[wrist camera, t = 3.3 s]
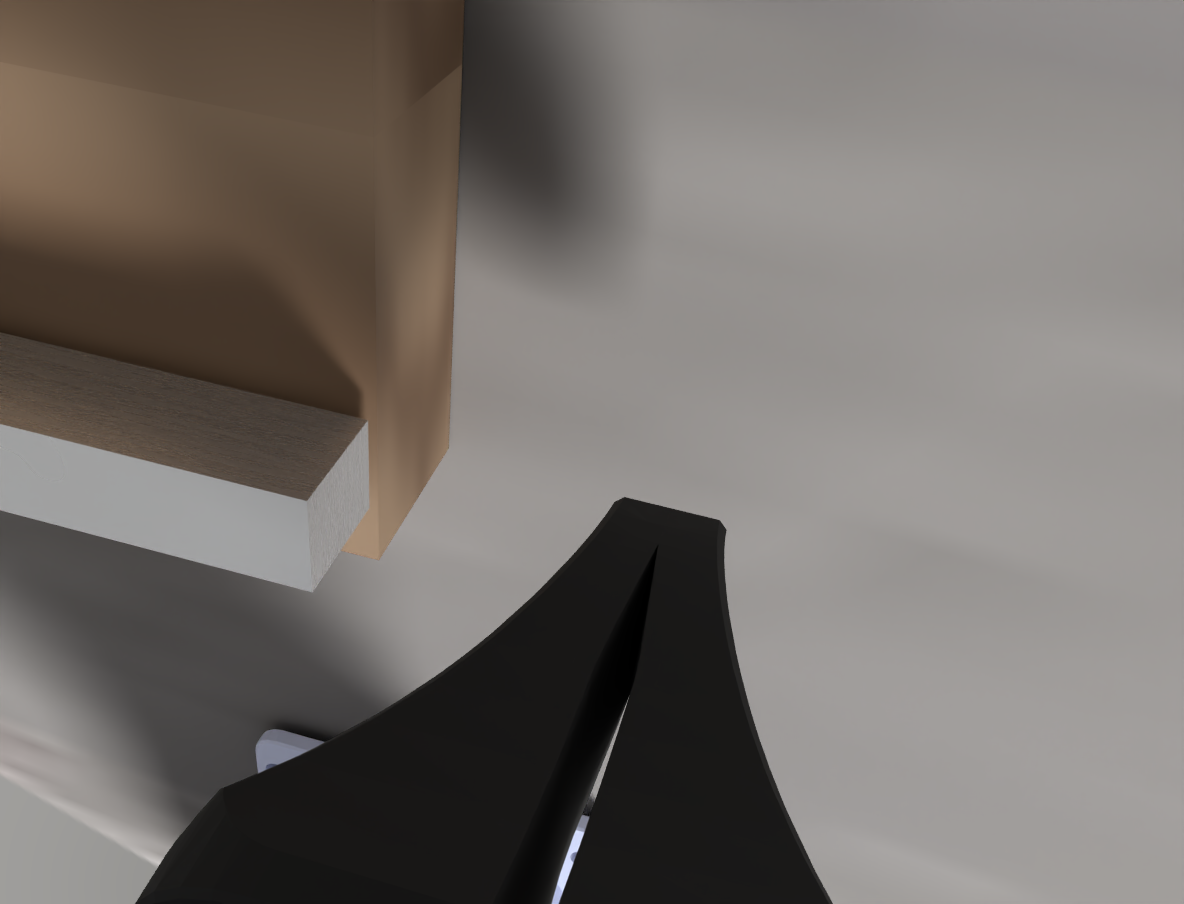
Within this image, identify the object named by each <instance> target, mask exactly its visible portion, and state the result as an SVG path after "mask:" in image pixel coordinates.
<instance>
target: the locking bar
mask: <svg viewBox="0 0 1184 904" xmlns="http://www.w3.org/2000/svg"><path fill="white" fill-rule="evenodd" d="M369 508H370V505H369V449H368V420H365V419H361V418H357V417H353V416H349V415H344V414H340V413H336V412H332V411H328V410H324V409H319V408H315V407H311V406H307V405H303V404H298V403H294V402H290V401H286V400H282V399H277V398H273V397H269V396H265V395H261V394H256V393H252V392H248V391H244V390H240V389H236V388H231V387H227V386H223V385H219V384H215V383H210V382H206V381H202V380H198V379H194V378H189V377H185V376H181V375H177V374H173V373H168V372H164V371H160V370H156V369H152V368H148V367H143V366H139V365H135V364H131V363H127V362H122V361H118V360H114V359H110V358H106V357H101V356H97V355H93V354H89V353H85V352H80V351H76V350H72V349H68V348H64V347H60V346H55V345H51V344H47V343H43V342H39V341H34V340H30V339H26V338H22V337H18V336H13V335H9V334H5V333H1V332H0V510H1V511H5V512H9V513H12V514H16V515H20V516H24V517H28V518H31V519H35V520H39V521H43V522H47V523H50V524H54V525H58V526H62V527H66V528H69V529H73V530H77V531H81V532H85V533H88V534H92V535H96V536H100V537H104V538H107V539H111V540H115V541H119V542H123V543H126V544H130V545H134V546H138V547H142V548H145V549H149V550H153V551H157V552H161V553H164V554H168V555H172V556H176V557H180V558H183V559H187V560H191V561H195V562H199V563H202V564H206V565H210V566H214V567H218V568H221V569H225V570H229V571H233V572H237V573H240V574H244V575H248V576H252V577H256V578H259V579H263V580H267V581H271V582H275V583H279V584H282V585H286V586H290V587H294V588H298V589H301V590H305V591H309V592H313V591H314V589H315V588H316V586H317V585H318V584H319V582H320V581H321V579H322V578H323V576H324V575H325V573H326V572H327V570H328V569H329V567H330V566H331V564H332V563H333V561H334V560H335V558H336V557H337V555H338V554H339V552H340V551H341V549H342V548H343V546H344V545H345V543H346V542H347V540H348V539H349V537H350V536H351V534H352V533H353V532H354V530H355V529H356V527H357V526H358V524H359V523H360V521H361V520H362V518H363V517H364V515H365V514H366V512H367V511H368V509H369Z"/></svg>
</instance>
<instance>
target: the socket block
mask: <svg viewBox="0 0 1184 904" xmlns="http://www.w3.org/2000/svg"><path fill="white" fill-rule="evenodd" d="M464 3H465V0H0V332H1V333H5V334H9V335H13V336H18V337H22V338H26V339H30V340H34V341H39V342H43V343H47V344H51V345H55V346H60V347H64V348H68V349H72V350H76V351H80V352H85V353H89V354H93V355H97V356H101V357H106V358H110V359H114V360H118V361H122V362H127V363H131V364H135V365H139V366H143V367H148V368H152V369H156V370H160V371H164V372H168V373H173V374H177V375H181V376H185V377H189V378H194V379H198V380H202V381H206V382H210V383H215V384H219V385H223V386H227V387H231V388H236V389H240V390H244V391H248V392H252V393H256V394H261V395H265V396H269V397H273V398H277V399H282V400H286V401H290V402H294V403H298V404H303V405H307V406H311V407H315V408H319V409H324V410H328V411H332V412H336V413H340V414H344V415H349V416H353V417H357V418H361V419H365V420H368V449H369V505H370V508H369V509H368V511H367V512H366V514H365V515H364V517H363V518H362V520H361V521H360V523H359V524H358V526H357V527H356V529H355V530H354V532H353V533H352V534H351V536H350V537H349V539H348V540H347V542H346V543H345V545H344V546H343V548H342V549H341V551H345V552H348V553H352V554H356V555H360V556H364V557H368V558H372V559H376V560H379V559H380V558H381V556H382V554H383V553H384V551H385V550H386V548H387V546H388V545H389V543H390V542H391V540H392V538H393V537H394V535H395V534H396V532H397V530H398V529H399V527H400V526H401V524H402V522H403V521H404V519H405V517H406V516H407V514H408V513H409V511H410V509H411V508H412V506H413V505H414V503H415V501H416V500H417V498H418V497H419V495H420V493H421V492H422V490H423V489H424V487H425V485H426V484H427V482H428V481H429V479H430V477H431V476H432V474H433V473H434V471H435V469H436V468H437V466H438V464H439V463H440V461H441V460H442V458H443V456H444V455H445V453H446V452H447V450H448V448H449V424H450V396H451V367H452V339H453V311H454V283H455V255H456V227H457V199H458V171H459V143H460V115H461V87H462V59H463V31H464Z"/></svg>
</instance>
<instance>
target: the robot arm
mask: <svg viewBox="0 0 1184 904" xmlns="http://www.w3.org/2000/svg"><path fill="white" fill-rule="evenodd" d="M725 535H726V528H725V527H724V526H723V524H722V523H721V521H720V520H716V519H712V518H708V517H704V516H700V515H696V514H692V513H688V512H683V511H679V510H675V509H671V508H667V507H663V506H659V505H655V504H651V503H646V502H642V501H638V500H634V499H630V498H626V497H624V498H622V499H620V500H618V501H616V502H614V504H613V505H612V507H611V508H610V510H609V511H608V513H607V514H606V515H605V517H604V518H603V519H602V521H601V522H600V523H599V525H598V526H597V527H596V529H595V530H594V531H593V532H592V534H591V535H590V536H589V537H588V538H587V540H586V541H585V542H584V543H583V544H582V545H581V546H580V548H579V549H578V550H577V551H576V552H575V553H574V554H573V555H572V557H571V558H570V559H569V560H568V561H567V562H566V563H565V564H564V565H563V566H562V567H561V568H560V569H559V570H558V571H557V572H556V573H555V574H554V575H553V576H552V577H551V579H550V580H549V581H548V582H547V583H546V584H545V585H544V586H543V587H542V588H541V589H540V590H539V591H538V592H537V593H536V594H535V595H534V596H533V597H532V598H531V599H529V600H528V601H527V602H526V603H525V604H524V605H523V606H522V607H521V608H519V609H518V610H517V611H516V612H515V613H514V614H513V615H512V616H510V617H509V618H508V619H507V620H506V621H505V622H504V623H503V624H502V625H500V626H499V627H498V628H497V629H496V630H495V631H494V632H493V633H491V634H490V635H489V636H488V637H486V638H485V639H484V640H483V641H482V642H480V643H479V644H478V645H477V646H475V647H474V648H473V649H472V650H470V651H469V652H468V653H466V654H465V655H464V656H463V657H461V658H460V659H459V660H457V661H456V662H454V663H453V664H452V665H450V666H449V667H448V668H446V669H445V670H444V671H442V672H441V673H439V674H438V675H437V676H435V677H434V678H432V679H431V680H429V681H428V682H426V683H425V684H423V685H422V686H420V687H419V688H417V689H416V690H414V691H413V692H411V693H410V694H408V695H407V696H405V697H404V698H402V699H401V700H399V701H397V702H396V703H394V704H393V705H391V706H389V707H388V708H386V709H384V710H383V711H381V712H379V713H378V714H376V715H374V716H373V717H371V718H369V719H367V720H365V721H363V722H362V723H360V724H358V725H356V726H354V727H352V728H350V729H348V730H347V731H345V732H343V733H341V734H339V735H337V736H335V737H334V738H332V739H330V740H328V741H326V742H323V741H319V740H316V739H312V738H309V737H305V736H302V735H298V734H294V733H291V732H287V731H284V730H278V729H272V730H267V731H266V732H265V733H263V735H262V736H261V738H260V739H259V741H258V743H257V744H256V749H255V751H256V760H257V769H258V773H257V774H255V775H253V776H251V777H248V778H246V779H244V780H241V781H239V782H237V783H234V784H232V785H229V786H227V787H224V788H222V789H220V790H219V791H218V792H217V793H216V795H215V796H214V797H213V798H212V799H211V800H210V801H209V802H208V803H207V805H206V806H205V807H204V808H203V809H202V810H201V811H200V813H199V814H198V815H197V816H196V817H195V818H194V820H193V821H192V822H191V824H190V825H189V826H188V827H187V828H186V830H185V831H184V832H183V833H182V834H181V835H180V836H179V838H178V839H177V840H176V841H175V843H174V844H173V846H172V847H171V848H170V850H169V851H168V853H167V854H166V856H165V857H164V859H163V860H162V862H161V863H160V865H159V867H158V868H157V870H156V871H155V873H154V875H153V876H152V878H151V879H150V881H149V883H148V884H147V886H146V887H145V889H144V890H143V892H142V894H141V896H140V897H139V899H138V900H137V902H136V903H135V904H833V903H832V901H831V900H830V898H829V896H828V894H827V892H826V890H825V888H824V887H823V885H822V883H821V881H820V879H819V877H818V875H817V874H816V872H815V870H814V868H813V866H812V863H811V861H810V859H809V857H808V855H807V853H806V851H805V849H804V846H803V844H802V842H801V840H800V838H799V836H798V834H797V831H796V829H795V827H794V825H793V823H792V821H791V819H790V817H789V814H788V812H787V810H786V808H785V806H784V803H783V801H782V798H781V796H780V793H779V791H778V788H777V786H776V783H775V781H774V778H773V776H772V773H771V770H770V768H769V765H768V762H767V759H766V757H765V754H764V751H763V748H762V745H761V742H760V739H759V736H758V733H757V730H756V727H755V724H754V721H753V717H752V714H751V710H750V707H749V703H748V700H747V696H746V692H745V688H744V684H743V681H742V677H741V673H740V668H739V664H738V659H737V655H736V650H735V644H734V639H733V633H732V628H731V622H730V617H729V610H728V603H727V594H726V583H725V569H724V546H725ZM629 695H630V696H629ZM628 698H629V699H628ZM627 700H628V702H627ZM626 703H627V706H626V709H625V712H624V715H623V718H622V721H621V724H620V727H619V731H618V734H617V737H616V740H615V743H614V746H613V749H612V752H611V755H610V758H609V761H608V764H607V767H606V770H605V773H604V776H603V779H602V782H601V785H600V788H599V791H598V794H597V797H596V800H595V803H594V805H593V808H592V811H591V814H590V817H589V816H585V815H582V814H583V811H584V809H585V806H586V804H587V801H588V799H589V796H590V794H591V791H592V789H593V786H594V783H595V781H596V778H597V776H598V773H599V771H600V768H601V766H602V763H603V761H604V758H605V756H606V753H607V751H608V748H609V746H610V743H611V741H612V738H613V736H614V733H615V731H616V728H617V726H618V723H619V721H620V718H621V715H622V713H623V710H624V708H625V705H626Z"/></svg>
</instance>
